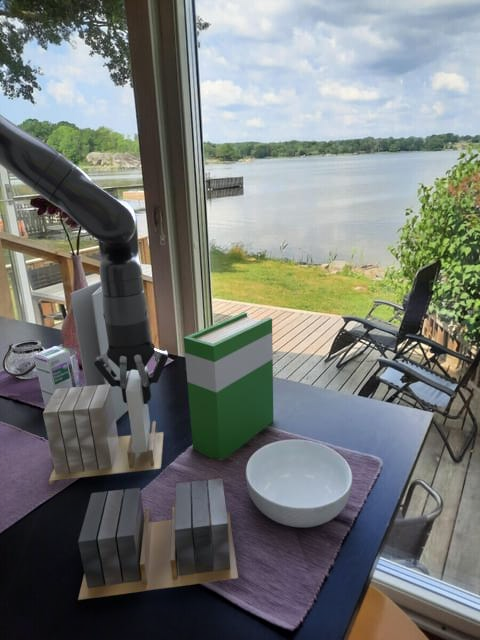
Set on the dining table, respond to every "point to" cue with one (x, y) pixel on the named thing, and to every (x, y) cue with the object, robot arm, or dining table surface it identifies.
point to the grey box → (94, 340)
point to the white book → (137, 413)
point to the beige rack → (93, 436)
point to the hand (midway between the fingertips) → (137, 402)
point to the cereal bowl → (298, 482)
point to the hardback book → (229, 383)
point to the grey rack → (155, 542)
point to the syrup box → (54, 371)
